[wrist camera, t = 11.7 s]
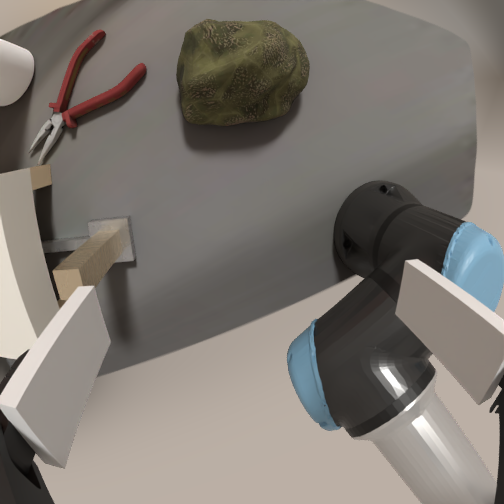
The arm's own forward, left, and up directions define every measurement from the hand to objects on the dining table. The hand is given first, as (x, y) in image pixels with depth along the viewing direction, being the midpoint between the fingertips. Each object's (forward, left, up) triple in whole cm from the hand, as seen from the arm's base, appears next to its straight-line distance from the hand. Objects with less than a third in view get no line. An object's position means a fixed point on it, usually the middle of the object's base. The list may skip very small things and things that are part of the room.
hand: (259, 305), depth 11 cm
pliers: (+27, -2, -29) cm, 40 cm away
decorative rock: (+7, -14, -29) cm, 33 cm away
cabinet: (+23, +22, -29) cm, 43 cm away
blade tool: (+19, +19, -29) cm, 39 cm away
